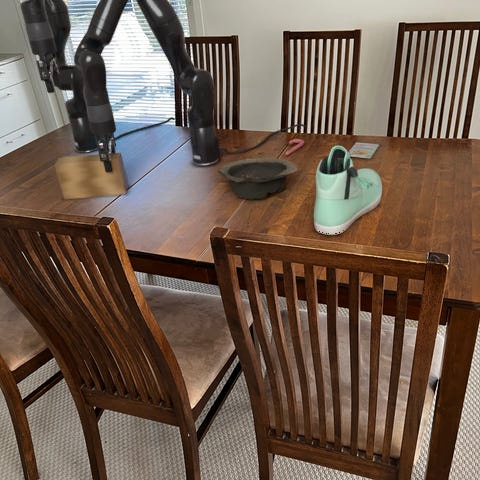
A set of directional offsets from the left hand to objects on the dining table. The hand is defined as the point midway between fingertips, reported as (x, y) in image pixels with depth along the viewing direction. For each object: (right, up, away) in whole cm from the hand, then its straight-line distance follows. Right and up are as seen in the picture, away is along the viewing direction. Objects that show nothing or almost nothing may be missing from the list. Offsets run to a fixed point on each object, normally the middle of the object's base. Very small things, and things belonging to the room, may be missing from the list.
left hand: (54, 89), depth 159 cm
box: (+14, -34, +1) cm, 37 cm away
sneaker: (+93, -41, -20) cm, 104 cm away
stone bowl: (+68, -33, -5) cm, 76 cm away
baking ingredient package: (+107, -17, +16) cm, 109 cm away
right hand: (+20, -26, -4) cm, 33 cm away
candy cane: (+82, -16, +23) cm, 86 cm away
